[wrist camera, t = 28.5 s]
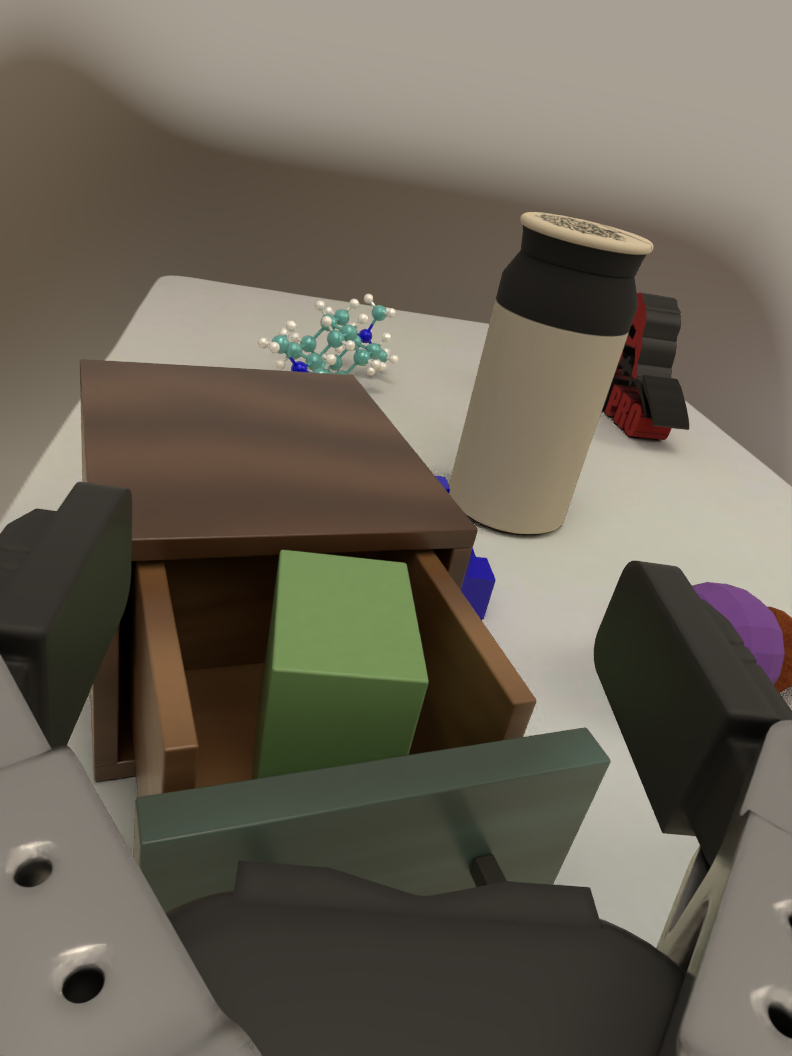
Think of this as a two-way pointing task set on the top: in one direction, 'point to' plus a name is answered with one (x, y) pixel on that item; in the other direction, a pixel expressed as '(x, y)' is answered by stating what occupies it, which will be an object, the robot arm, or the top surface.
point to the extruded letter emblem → (649, 373)
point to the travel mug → (545, 371)
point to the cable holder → (475, 577)
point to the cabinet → (249, 484)
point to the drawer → (349, 790)
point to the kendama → (755, 628)
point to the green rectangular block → (338, 665)
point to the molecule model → (335, 341)
